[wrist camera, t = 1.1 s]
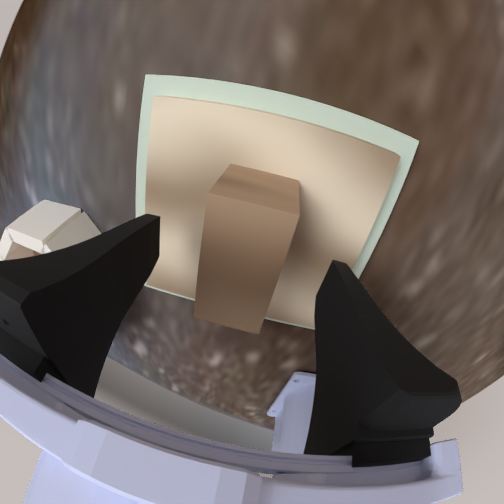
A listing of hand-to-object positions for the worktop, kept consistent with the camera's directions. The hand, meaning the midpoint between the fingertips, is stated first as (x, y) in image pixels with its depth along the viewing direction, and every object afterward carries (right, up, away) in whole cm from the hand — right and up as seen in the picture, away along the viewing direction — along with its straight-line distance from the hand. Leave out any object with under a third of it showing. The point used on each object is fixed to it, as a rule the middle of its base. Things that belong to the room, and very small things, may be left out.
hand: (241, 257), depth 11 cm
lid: (0, +2, +3) cm, 3 cm away
